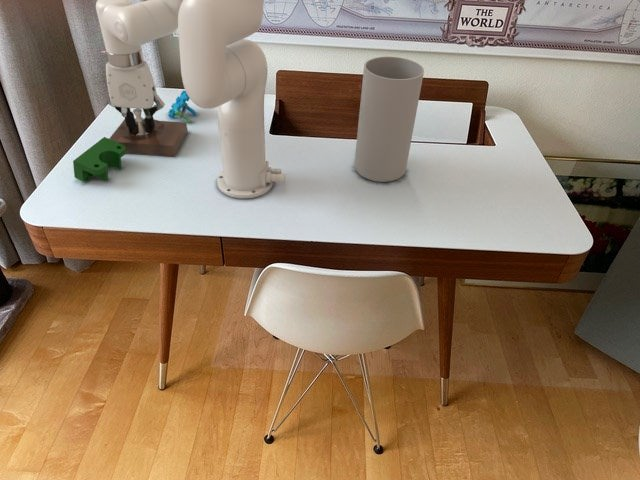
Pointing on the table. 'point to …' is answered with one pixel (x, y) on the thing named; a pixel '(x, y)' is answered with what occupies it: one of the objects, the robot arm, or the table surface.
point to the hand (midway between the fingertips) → (141, 129)
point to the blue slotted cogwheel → (181, 104)
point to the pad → (152, 138)
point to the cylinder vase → (387, 117)
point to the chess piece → (139, 121)
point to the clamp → (98, 160)
